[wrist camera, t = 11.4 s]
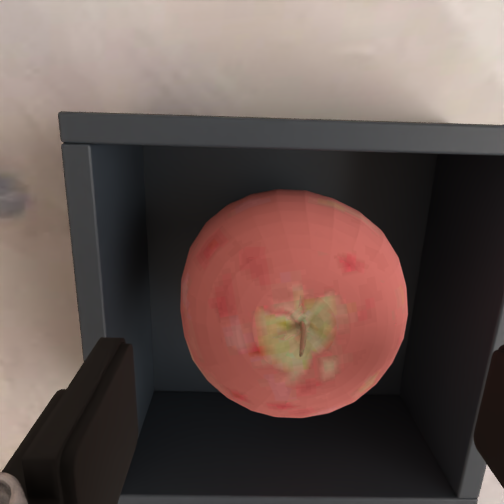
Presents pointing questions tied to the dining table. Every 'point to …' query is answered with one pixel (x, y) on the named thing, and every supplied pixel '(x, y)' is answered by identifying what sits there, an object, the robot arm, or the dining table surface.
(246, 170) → the bin
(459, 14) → the dining table surface
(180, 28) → the dining table surface
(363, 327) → the apple
